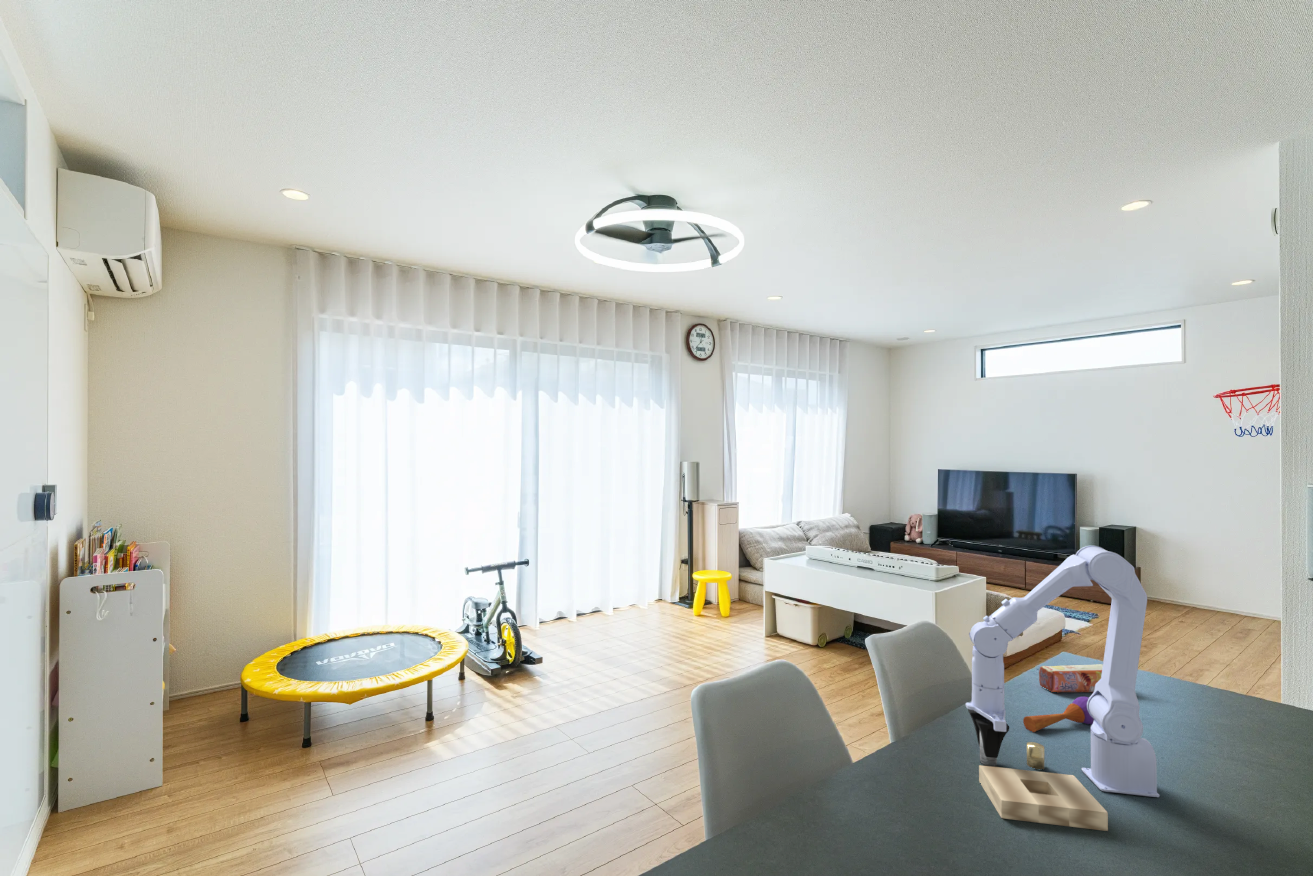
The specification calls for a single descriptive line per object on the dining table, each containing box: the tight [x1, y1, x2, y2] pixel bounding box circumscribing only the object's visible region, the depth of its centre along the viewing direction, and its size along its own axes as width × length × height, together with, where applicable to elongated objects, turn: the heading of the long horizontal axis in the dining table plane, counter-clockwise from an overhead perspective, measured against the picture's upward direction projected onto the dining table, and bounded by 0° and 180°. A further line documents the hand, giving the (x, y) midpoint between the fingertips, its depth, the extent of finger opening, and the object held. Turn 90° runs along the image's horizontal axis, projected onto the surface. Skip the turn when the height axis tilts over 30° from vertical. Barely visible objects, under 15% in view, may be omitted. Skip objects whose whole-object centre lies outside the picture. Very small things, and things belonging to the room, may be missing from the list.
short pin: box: [1026, 741, 1045, 771], centre depth 121 cm, size 3×3×4 cm
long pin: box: [979, 732, 998, 767], centre depth 122 cm, size 3×3×7 cm
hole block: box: [978, 765, 1109, 832], centre depth 108 cm, size 16×12×3 cm
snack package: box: [1038, 663, 1103, 693], centre depth 162 cm, size 21×7×7 cm, turn 93°
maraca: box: [1022, 696, 1094, 733], centre depth 140 cm, size 6×6×20 cm
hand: (988, 752), depth 122 cm, fingers closed on long pin, 3 cm apart
